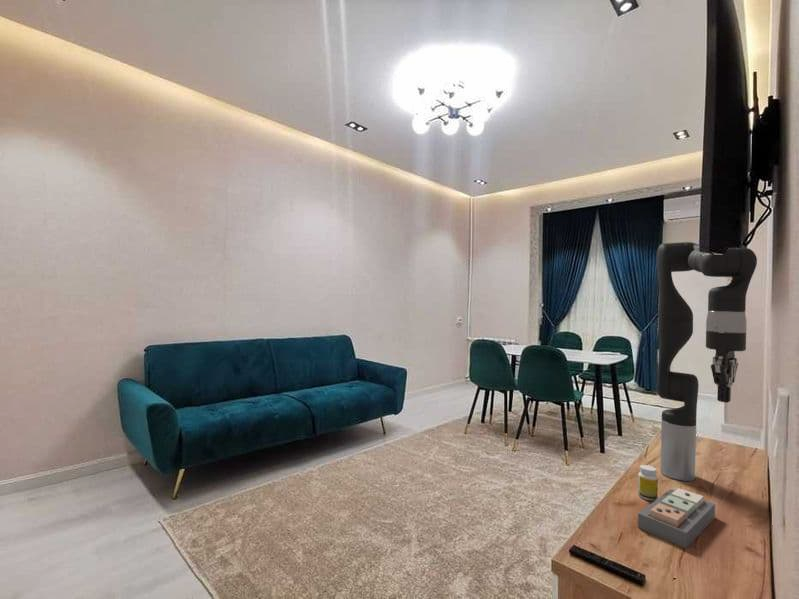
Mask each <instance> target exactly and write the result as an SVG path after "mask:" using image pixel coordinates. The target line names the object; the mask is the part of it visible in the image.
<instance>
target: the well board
mask: <svg viewBox="0 0 799 599" xmlns="http://www.w3.org/2000/svg"><path fill="white" fill-rule="evenodd" d="M675 490H676V489H672V488H670V489H668V490H667V491H666V492H665V493H663V494H662V495H661V496H660V497H657V500H655V501H652V502H651V503H649V505H648V506H646V507H645V508H643V509H642V510H641V511H640V512H638V514H637V515H638V516H637V528H638V529H640V530H643V531H645V532H647V533H650V534H652V535H655V536H656V537H658V538H661V539H664V540H666V541H667V542H670V543H673V544H674V545H677V546H680V547H682V548H684V549H688V547H689V546H690V545H691V544H692V543H694V541H695V540H696V539H697V538H698V536H699V535H700V534H702V532H703V531H704V530H705V529H706V528H707V527H708V526H709V524H710V523H712V521H713V520H714V519H715V517H716V504H715V503H713V502H710V501H708V500H704V499H703V505H702V506H701V507H700V508H699V509H695V513H694V514H693V515H692V516H691V517H690V518H686V517H685V522H684V523H683V524H682V525H681V526H680V527H679V528H677V527H675V526H672V525H670V524H667V523H665V522H662V521H660V520H657V519H655V518H652V517H650V510H651V509H652V508H653V507H655V506H656V505H657V504H658V503H661V501H662V500H663V499H665V498H666V497H667V496H669V495H671V493H673V492H674V491H675Z"/></svg>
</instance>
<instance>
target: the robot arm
mask: <svg viewBox="0 0 799 599" xmlns="http://www.w3.org/2000/svg"><path fill="white" fill-rule="evenodd" d="M699 245H700V244H698V243H695V242H689V241H684V242H681V241H680V242H668V243H667V242H666V243H661V244H660V245H659V246H658V248H657V251H656V268H657V269H656V270H657V282H658V316H657V317H658V322H657V323H658V324H657V325H658V326H657V327H658V328H657V329H658V362H657V364H658V365H657V376H656V379H657V380H656V391H657V396H658V397H659V398H661V399H664V400H668V401H669V400H670V401H675V402H682V403H684V404H683V406H680V407H677V408H676V407H675V408H670V409H664V410H662V412H661V430H660V431H661V432H660V434H661V435H660V439H661V441H660V467H659V469H660V470H659V471H660V473H661V474H662V475H664V476H666V477H668V478H670V479H671V478H672V479H674V480H678V481H682V482H683V481H684V482H690V481H694V480H695V478H696V477H695V476H696V456H697V455H696V450H697V411H698V410H697V408H698V397H699V380H698V377H697V376H696V375H695V374H691V373H685V372H678V371H671V366H672V363H673V361H674V359H675V358H676V356H677V354H678V353H679V352H680V351H681V350H682V349H683V348H684V347H685V345H686V344H687V343H688V342H689V340H691V338H692V336H693V334H694V314H693V311H692V310H693V309H692V308H691V307H690V306H689V303H688V302H687V301H686V299H685V298H684V297H682V295H681V294H680V293H679V291H678V290H677V288H676V286H675V284H674V280H673V276H672V273H676V272H677V273H678V272H681V273H682V272H690V271H696V272H697V273H702V275H703V276H706V277H712V278H713V277H714V278H732V279H731V281H730V282H729V283H728V284H727V285H726V284H725V285H721V286H716V287H712V288H711V289H709V291H708V295H707V297H708V299H707V300H708V301H707V315H706V322H705V323H706V324H705V348H707V350H713V351H714V350H715V354H714V356H713V357H712V363H711V365H710V369H711V374H712V377H713V383H714V384H715V385H716V386H717V397H716V398H717V401H718V402H720V403H721V402H722V403H730V401H731V398H732V397H731V395H732V391H731V390H732V386H733V385H734V383H735V380H736V374H737V369H738V366H739V363H738V357H736V354H735V352H745V351H746V349H747V325H748V324H747V323H748V322H747V316H746V307H747V305H746V304H747V303H746V300H747V298H746V297H747V294H748V289H749V285H750V283H751V280H752V278H753V276H754V273H755V271H756V268H757V264H758V257H757V255H756V252H754V251H753V250H752V249H751V248H748V247H727V248H728V249H727V251H726V253H725V254H723V255H704V254H703V255H704V256H703V255H702V254H701V253H699V248H698V246H699Z"/></svg>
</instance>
